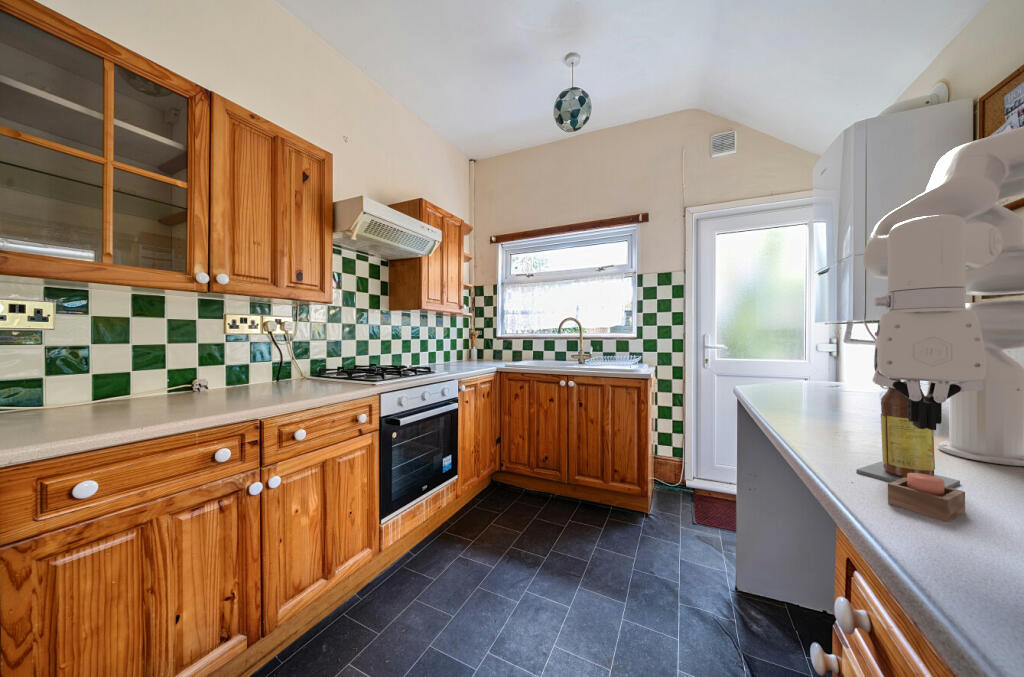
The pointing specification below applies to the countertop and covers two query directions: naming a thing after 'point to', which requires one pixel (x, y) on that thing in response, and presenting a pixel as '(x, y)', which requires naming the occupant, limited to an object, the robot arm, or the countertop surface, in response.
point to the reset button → (926, 483)
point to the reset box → (927, 500)
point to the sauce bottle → (904, 438)
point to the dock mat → (881, 473)
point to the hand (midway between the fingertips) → (924, 427)
